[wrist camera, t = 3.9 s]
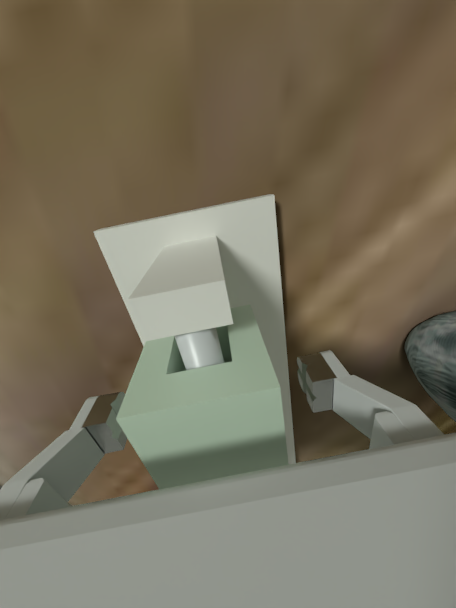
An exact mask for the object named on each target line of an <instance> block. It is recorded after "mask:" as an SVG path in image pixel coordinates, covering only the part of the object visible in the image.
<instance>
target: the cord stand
mask: <svg viewBox="0 0 456 608" xmlns="http://www.w3.org/2000/svg"><path fill="white" fill-rule="evenodd" d="M94 234H95V237H96V239H97V241H98V244H99V246H100V248H101V250H102V253H103V255H104V257H105V260H106V262H107V264H108V266H109V269H110V271H111V273H112V275H113V278H114V280H115V282H116V285H117V287H118V289H119V291H120V294H121V296H122V298H123V300H124V303H125V305H126V307H127V310H128V312H129V314H130V316H131V319H132V321H133V323H134V326H135V328H136V330H137V332H138V335H139V337H140V339H141V341H142V344H143V346H144V345H145V343H146V341H150V340H155V339H160V338H165V337H170V336H174V337H175V340H176V342H177V345H178V348H179V351H180V354H181V357H182V359H183V362H184V365H185V368H186V370H191V369H196V368H201V367H207V366H212V365H217V364H222V363H224V359H223V355H222V351H221V346H220V342H219V338H218V334H217V330H216V327H221V326H226V325H231V324H233V319H232V314H231V309H230V308H234V307H239V306H244V305H249V304H250V305H251V308H252V311H253V314H254V316H255V319H256V322H257V325H258V327H259V330H260V333H261V335H262V338H263V341H264V344H265V346H266V349H267V352H268V355H269V357H270V360H271V363H272V366H273V368H274V371H275V374H276V377H277V379H278V382H279V385H280V389H281V398H282V408H283V417H284V426H285V436H286V445H287V454H288V464H294V463H296V460H295V447H294V435H293V422H292V410H291V397H290V385H289V373H288V360H287V348H286V335H285V323H284V310H283V298H282V286H281V273H280V261H279V248H278V236H277V223H276V211H275V198H274V195H272V194H268V195H263V196H259V197H254V198H249V199H244V200H239V201H234V202H229V203H224V204H219V205H215V206H210V207H205V208H200V209H195V210H190V211H185V212H180V213H175V214H170V215H166V216H161V217H156V218H151V219H146V220H141V221H136V222H131V223H126V224H122V225H117V226H112V227H107V228H102V229H99V230H96V231H94Z"/></svg>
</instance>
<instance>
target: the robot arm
mask: <svg viewBox="0 0 456 608" xmlns="http://www.w3.org/2000/svg"><path fill="white" fill-rule="evenodd" d="M297 364H298V366H299V370H298V379H299V383H300V386H301V388H302V390H303V392H304V393H306V394H307V401H308V403H309V405H310V407H311V409H312V412H313V413H314V412H320V411H326V410H332V409H333V411H334V412H336V413H337V414H338V415H339V416H341V417H342V418H343V419H345V420H346V421H347V422H349V423H350V424H351V425H352V426H354V427H355V428H356V429H358V430H359V431H360V432H362V433H363V434H364V435H365V436H367V437H368V438H369V439H371V441H370V447H369V449H367V450H362V451H357V452H351V453H346V454H341V455H336V456H331V457H325V458H320V459H315V460H310V461H304V462H299V463H294V464H289V465H284V466H279V467H273V468H268V469H263V470H258V471H253V472H247V473H242V474H237V475H232V476H227V477H221V478H216V479H211V480H206V481H201V482H195V483H190V484H185V485H180V486H175V487H169V488H164V489H159V490H154V491H149V492H143V493H138V494H133V495H128V496H122V497H117V498H112V499H107V500H102V501H96V502H91V503H86V504H81V505H76V506H72V505H71V504H69V503H68V501H69V500H70V499H71V497H72V496H73V495H74V493H75V492H76V491H77V490H78V488H79V487H80V486H81V484H82V483H83V482H84V481H85V479H86V478H87V477H88V475H89V474H90V473H91V472H92V470H93V469H94V468H95V466H96V465H97V464H98V463H99V461H100V460H101V459H102V457H103V456H104V454H105V453H110V452H114V451H119V450H123V449H124V447H125V444H126V440H127V436H126V435H125V433H124V432H123V430H122V428H121V427H120V425H119V423H118V422H117V420H116V417H117V415H118V412H119V410H120V407H121V404H122V402H123V399H124V397H125V394H124V392H117V393H111V394H106V395H100V396H95V397H89V398H88V399H87V400H86V401H85V403H84V405H83V406H82V408H81V410H80V412H79V413H78V415H77V417H76V419H75V420H74V422H73V424H72V426H71V428H70V429H69V431H65V432H64V433H63V434H62V435H60V436H59V437H58V438H57V439H56V440H55V441H53V442H52V443H51V444H50V445H49V446H48V447H47V448H45V449H44V450H43V451H42V452H41V453H40V454H38V455H37V456H36V457H35V458H34V459H33V460H32V461H30V462H29V463H28V464H27V465H26V466H25V467H23V468H22V469H21V470H20V471H19V472H18V473H17V474H15V475H14V476H13V477H12V478H11V479H10V480H8V481H7V482H6V483H5V484H4V485H3V487H2V488H1V490H0V608H456V433H450V434H445V435H444V434H443V433H442V432H441V431H440V430H439V429H438V428H437V426H436V425H435V424H434V423H433V422H432V421H431V420H430V419H429V418H428V417H427V416H426V415H425V414H424V413H423V412H422V411H421V410H420V409H419V408H418V407H417V405H415V404H413V403H411V402H409V401H407V400H405V399H403V398H401V397H399V396H397V395H395V394H392V393H390V392H388V391H386V390H384V389H382V388H380V387H378V386H376V385H374V384H372V383H370V382H368V381H366V380H364V379H361V378H359V377H357V376H355V375H350V374H349V373H348V372H347V370H346V369H345V368H344V366H343V365H342V364H341V362H340V361H339V360H338V359H337V357H336V356H335V355H334V353H333V352H332V351H330V350H328V351H324V352H319V353H315V354H310V355H305V356H300V357H297Z"/></svg>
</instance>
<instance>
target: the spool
mask: <svg viewBox="0 0 456 608" xmlns="http://www.w3.org/2000/svg"><path fill="white" fill-rule="evenodd" d="M405 352H406V354H407V358H408V361H409V363H410V365H411V368H412V370H413V372H414V374H415V375H416V377H417V379H418V381H419V382H420V384H421V385H422V387H423V388H424V389H425V391H426V392H427V393H428V394H429V396H430V397H431V398H432V399H433V400H434V401H435V402H436V403H437V404H438V405H439V406H440V407H441V408H442V409H443V410H444V411H445V412H446V413H447V414H448V415H449V417H451V418H452V419H453V420H454V421H455V422H456V311H454V312H448V313H444V314H441V315H437V316H435V317H433V318H431V319H429V320H427V321H425V322H423V323H421V324H419V325H418V326H416V327H415V328H414V329H413V330H412V331H411V332H410V333H409V335H408V337H407V339H406V343H405Z"/></svg>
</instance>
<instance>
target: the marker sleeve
mask: <svg viewBox="0 0 456 608" xmlns="http://www.w3.org/2000/svg"><path fill="white" fill-rule="evenodd" d="M230 309H231V314H232V319H233V324H231V325H226V326H221V327H216V330H217V334H218V338H219V342H220V346H221V351H222V355H223V359H224V363H222V364H217V365H212V366H207V367H201V368H196V369H191V370H186V368H185V365H184V362H183V359H182V357H181V354H180V351H179V348H178V345H177V342H176V340H175V337H174V336H170V337H165V338H160V339H155V340H150V341H146V343H145V345H144V348H143V350H142V353H141V356H140V358H139V361H138V363H137V366H136V368H135V371H134V374H133V376H132V379H131V381H130V384H129V386H128V389H127V392H126V394H125V397H124V399H123V402H122V404H121V407H120V410H119V412H118V415H117V417H116V420H117V422H118V423H119V425H120V427H121V428H122V430H123V432H124V433H125V435H126V436H127V438H128V440H129V441H130V443H131V444H132V446H133V448H134V449H135V451H136V452H137V454H138V456H139V457H140V459H141V460H142V462H143V464H144V465H145V467H146V468H147V470H148V472H149V473H150V475H151V476H152V478H153V480H154V481H155V483H156V484H157V486H158V488H159V489H164V488H169V487H175V486H180V485H185V484H190V483H195V482H201V481H206V480H211V479H216V478H221V477H227V476H232V475H237V474H242V473H247V472H253V471H258V470H263V469H268V468H273V467H279V466H284V465H289V464H288V454H287V445H286V436H285V426H284V417H283V408H282V398H281V389H280V385H279V382H278V379H277V377H276V374H275V371H274V368H273V366H272V363H271V360H270V357H269V355H268V352H267V349H266V346H265V344H264V341H263V338H262V335H261V333H260V330H259V327H258V325H257V322H256V319H255V316H254V314H253V311H252V308H251V305H250V304H249V305H244V306H239V307H234V308H230Z"/></svg>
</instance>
